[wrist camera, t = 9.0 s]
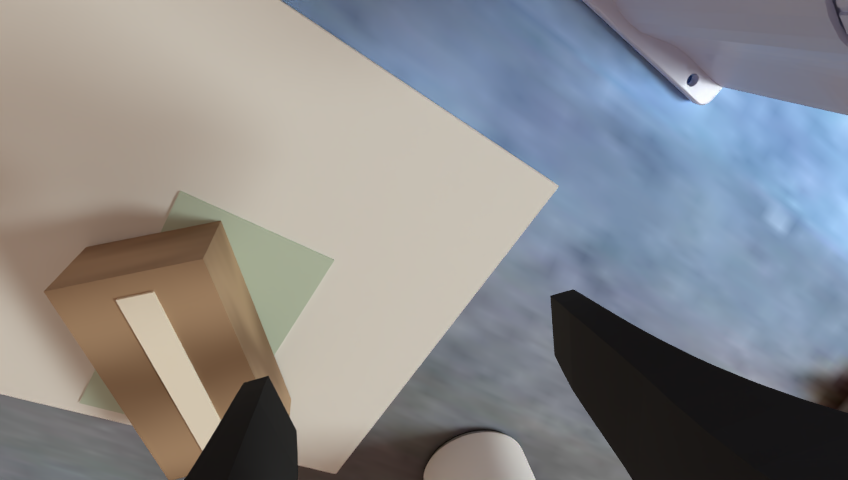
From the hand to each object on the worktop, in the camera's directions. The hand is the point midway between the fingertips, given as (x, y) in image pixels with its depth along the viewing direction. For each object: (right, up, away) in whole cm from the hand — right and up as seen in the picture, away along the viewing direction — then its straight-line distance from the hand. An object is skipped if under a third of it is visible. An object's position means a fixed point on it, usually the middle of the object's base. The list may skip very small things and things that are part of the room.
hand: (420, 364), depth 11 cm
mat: (-8, +2, +8) cm, 11 cm away
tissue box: (-10, -1, +9) cm, 13 cm away
